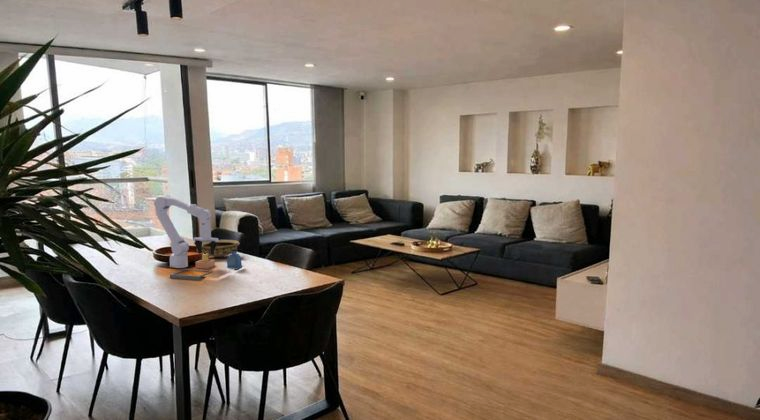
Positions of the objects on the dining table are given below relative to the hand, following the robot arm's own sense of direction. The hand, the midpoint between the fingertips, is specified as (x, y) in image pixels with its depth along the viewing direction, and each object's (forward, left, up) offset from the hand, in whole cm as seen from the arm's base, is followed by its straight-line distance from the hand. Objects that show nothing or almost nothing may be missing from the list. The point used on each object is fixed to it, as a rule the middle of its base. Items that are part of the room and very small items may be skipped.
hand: (206, 253), depth 288 cm
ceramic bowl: (-10, +29, -10) cm, 32 cm away
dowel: (-1, 0, -8) cm, 8 cm away
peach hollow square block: (-1, 0, -9) cm, 9 cm away
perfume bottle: (+15, +5, -10) cm, 18 cm away
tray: (+1, -16, -9) cm, 18 cm away
